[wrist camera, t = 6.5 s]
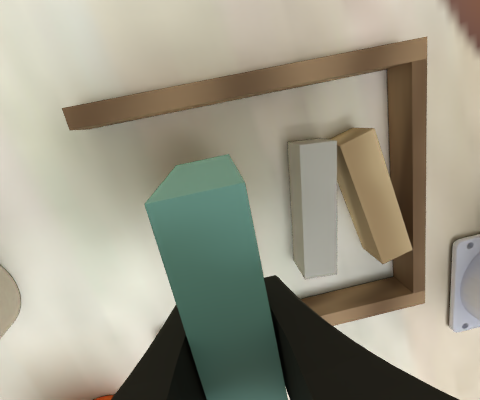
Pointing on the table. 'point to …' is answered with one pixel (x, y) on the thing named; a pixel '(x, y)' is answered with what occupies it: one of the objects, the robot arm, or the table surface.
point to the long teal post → (218, 279)
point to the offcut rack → (400, 143)
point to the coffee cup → (8, 301)
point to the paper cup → (105, 397)
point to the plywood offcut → (370, 194)
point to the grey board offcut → (314, 205)
